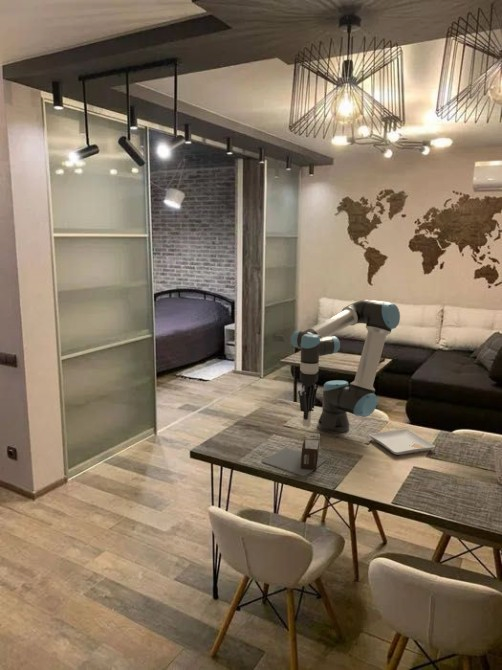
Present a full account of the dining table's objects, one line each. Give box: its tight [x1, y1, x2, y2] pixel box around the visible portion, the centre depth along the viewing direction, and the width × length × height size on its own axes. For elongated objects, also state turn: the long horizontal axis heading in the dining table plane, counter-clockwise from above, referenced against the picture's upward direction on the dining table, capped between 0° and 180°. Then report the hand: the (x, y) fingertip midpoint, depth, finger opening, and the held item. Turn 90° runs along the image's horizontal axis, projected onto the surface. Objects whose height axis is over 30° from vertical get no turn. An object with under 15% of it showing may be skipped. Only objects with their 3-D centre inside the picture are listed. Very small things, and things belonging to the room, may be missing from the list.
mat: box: [261, 446, 327, 478], centre depth 207 cm, size 18×20×1 cm
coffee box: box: [301, 432, 321, 471], centre depth 206 cm, size 9×6×16 cm
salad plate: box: [368, 428, 436, 456], centre depth 225 cm, size 21×21×3 cm
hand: (306, 425), depth 211 cm, fingers closed
